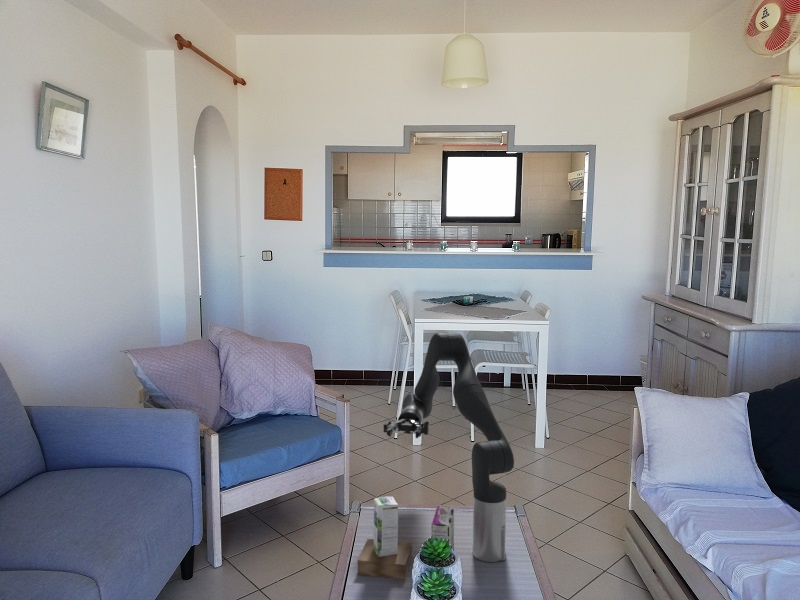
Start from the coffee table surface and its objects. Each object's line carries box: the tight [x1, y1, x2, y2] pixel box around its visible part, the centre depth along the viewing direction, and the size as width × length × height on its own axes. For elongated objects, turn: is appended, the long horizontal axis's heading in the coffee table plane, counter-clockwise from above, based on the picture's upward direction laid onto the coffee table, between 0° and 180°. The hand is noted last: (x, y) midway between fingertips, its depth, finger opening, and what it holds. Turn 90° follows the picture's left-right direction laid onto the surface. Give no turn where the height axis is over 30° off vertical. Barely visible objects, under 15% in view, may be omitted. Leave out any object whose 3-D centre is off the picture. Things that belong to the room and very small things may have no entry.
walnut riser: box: [357, 538, 413, 580], centre depth 171 cm, size 13×12×4 cm
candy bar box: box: [431, 505, 455, 552], centre depth 167 cm, size 11×5×16 cm, turn 168°
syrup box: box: [373, 496, 399, 557], centre depth 170 cm, size 6×6×14 cm
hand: (403, 434), depth 191 cm, fingers open, 8 cm apart
